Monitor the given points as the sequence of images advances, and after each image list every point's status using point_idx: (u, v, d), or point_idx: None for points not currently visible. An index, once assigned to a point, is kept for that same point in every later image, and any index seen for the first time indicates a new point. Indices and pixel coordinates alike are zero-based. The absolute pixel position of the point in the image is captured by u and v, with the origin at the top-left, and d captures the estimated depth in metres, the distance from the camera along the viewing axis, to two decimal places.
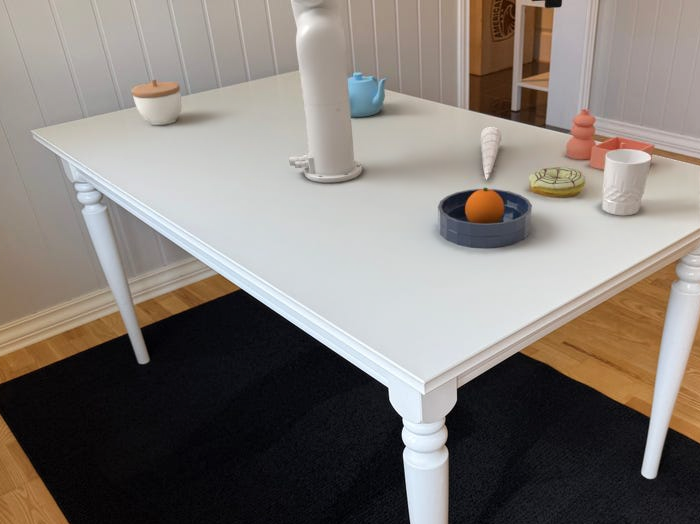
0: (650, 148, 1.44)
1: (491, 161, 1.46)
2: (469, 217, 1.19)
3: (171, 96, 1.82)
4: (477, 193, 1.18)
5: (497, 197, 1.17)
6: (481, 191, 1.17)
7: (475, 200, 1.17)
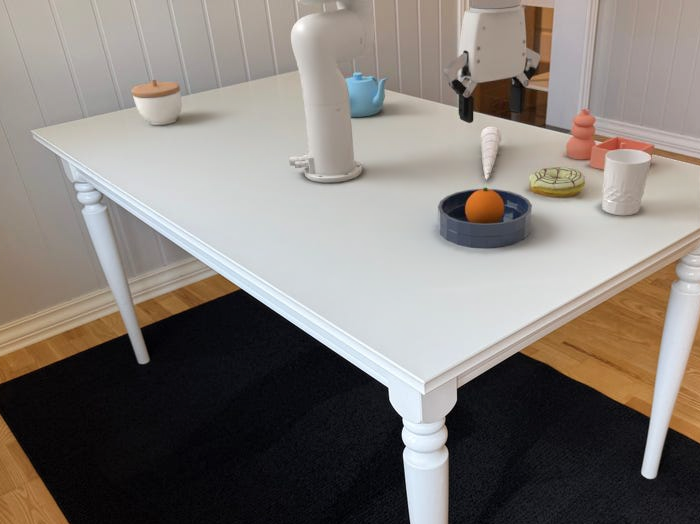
0: (650, 148, 1.44)
1: (491, 161, 1.46)
2: (469, 217, 1.19)
3: (171, 96, 1.82)
4: (477, 193, 1.18)
5: (497, 197, 1.17)
6: (481, 191, 1.17)
7: (475, 200, 1.17)
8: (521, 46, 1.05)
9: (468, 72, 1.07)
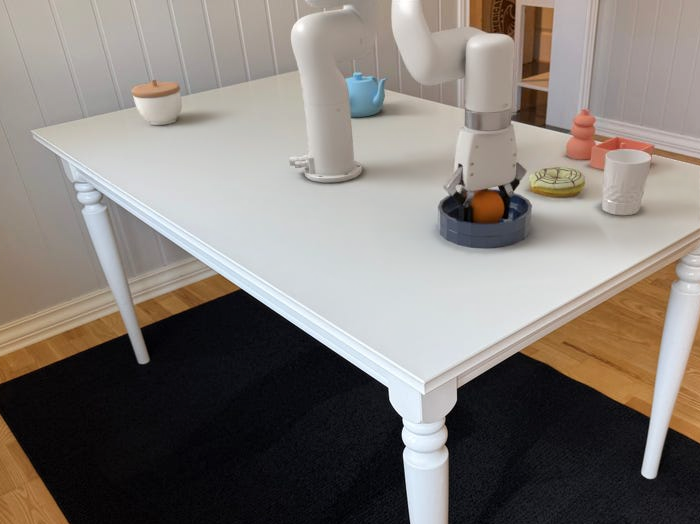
0: (650, 148, 1.44)
1: None
2: None
3: (171, 96, 1.82)
4: (477, 193, 1.18)
5: (497, 197, 1.17)
6: (481, 191, 1.17)
7: (475, 200, 1.17)
8: (511, 159, 1.14)
9: None
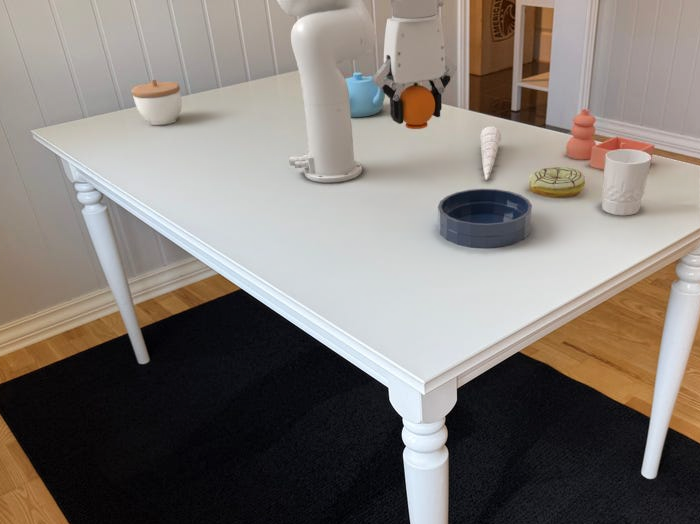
0: (650, 148, 1.44)
1: (491, 161, 1.46)
2: None
3: (171, 96, 1.82)
4: (407, 88, 1.20)
5: (427, 92, 1.19)
6: (412, 86, 1.20)
7: (405, 94, 1.19)
8: (439, 52, 1.16)
9: None
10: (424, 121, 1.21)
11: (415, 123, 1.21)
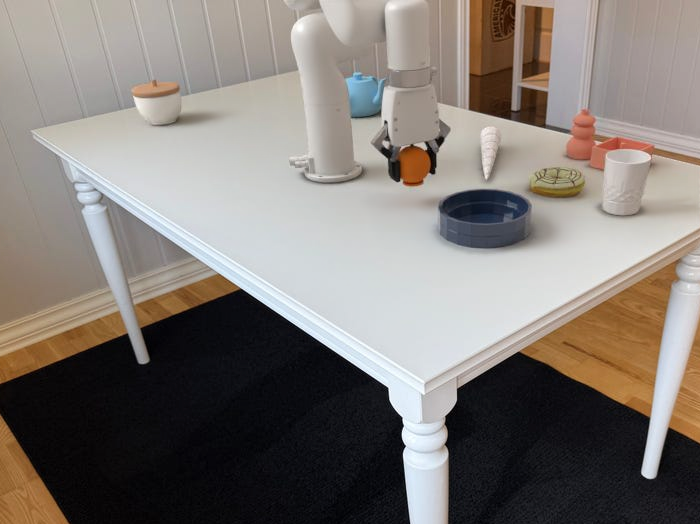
0: (650, 148, 1.44)
1: (491, 161, 1.46)
2: None
3: (171, 96, 1.82)
4: (404, 148, 1.27)
5: (423, 153, 1.26)
6: (408, 147, 1.27)
7: (402, 155, 1.26)
8: (433, 116, 1.23)
9: None
10: (420, 179, 1.28)
11: (412, 181, 1.28)
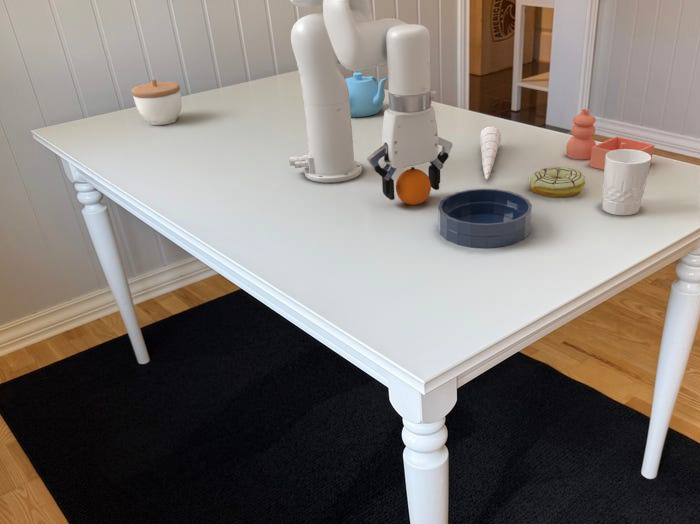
0: (650, 148, 1.44)
1: (491, 161, 1.46)
2: (398, 194, 1.30)
3: (171, 96, 1.82)
4: (405, 172, 1.29)
5: (424, 176, 1.29)
6: (409, 170, 1.29)
7: (403, 178, 1.29)
8: (433, 139, 1.26)
9: None
10: (421, 201, 1.31)
11: (412, 203, 1.31)
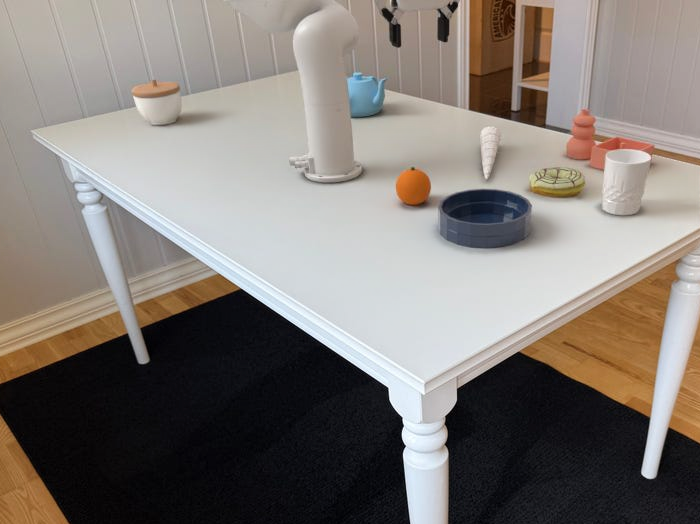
0: (650, 148, 1.44)
1: (491, 161, 1.46)
2: (398, 194, 1.30)
3: (171, 96, 1.82)
4: (405, 172, 1.29)
5: (424, 176, 1.29)
6: (409, 170, 1.29)
7: (403, 178, 1.29)
8: None
9: None
10: (421, 201, 1.31)
11: (412, 203, 1.31)
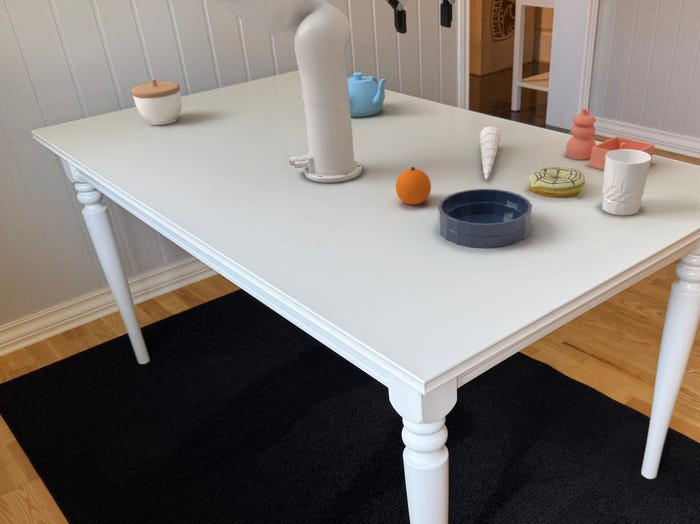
0: (650, 148, 1.44)
1: (491, 161, 1.46)
2: (398, 194, 1.30)
3: (171, 96, 1.82)
4: (405, 172, 1.29)
5: (424, 176, 1.29)
6: (409, 170, 1.29)
7: (403, 178, 1.29)
8: None
9: None
10: (421, 201, 1.31)
11: (412, 203, 1.31)
